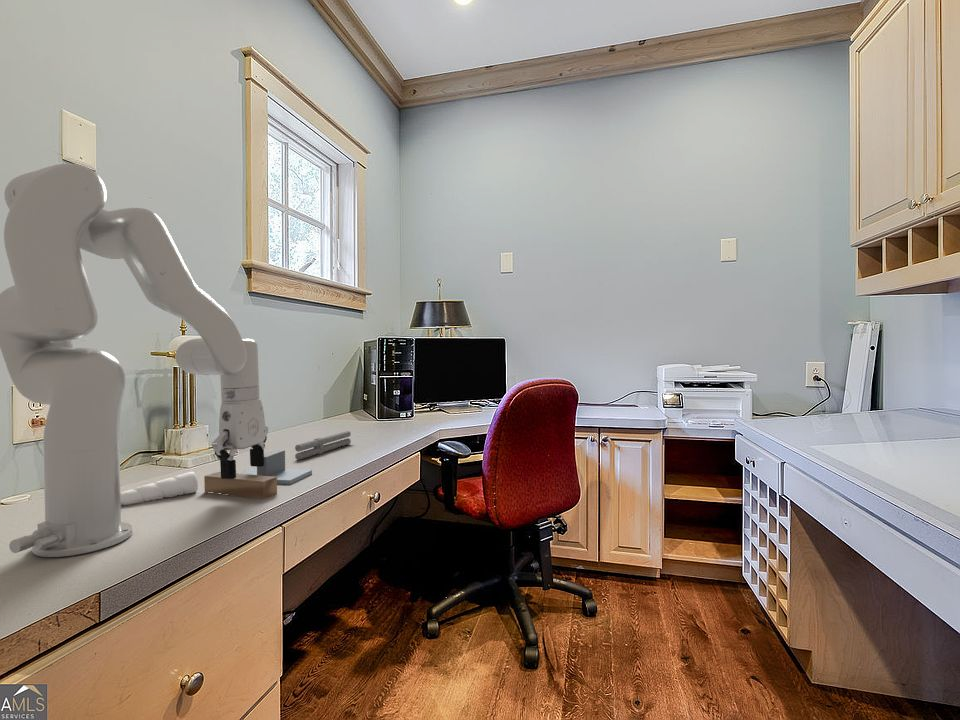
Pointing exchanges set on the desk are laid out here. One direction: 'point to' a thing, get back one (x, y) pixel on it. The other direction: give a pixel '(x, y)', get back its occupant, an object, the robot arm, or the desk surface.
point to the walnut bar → (242, 485)
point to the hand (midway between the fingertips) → (243, 472)
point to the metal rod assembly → (319, 446)
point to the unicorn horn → (161, 489)
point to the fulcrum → (278, 469)
